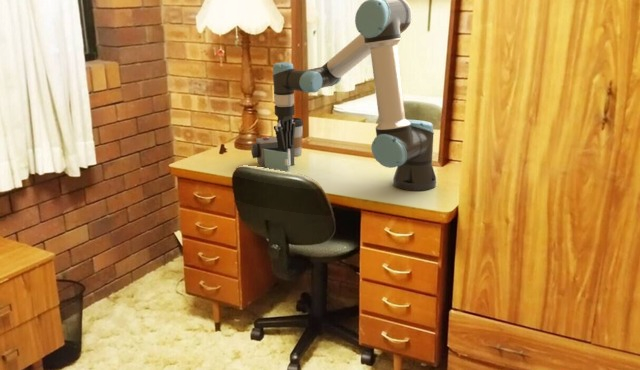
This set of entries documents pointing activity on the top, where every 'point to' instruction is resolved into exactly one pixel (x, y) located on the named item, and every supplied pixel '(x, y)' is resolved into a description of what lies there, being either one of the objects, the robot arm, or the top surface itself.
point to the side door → (275, 159)
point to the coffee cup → (298, 137)
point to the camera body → (268, 144)
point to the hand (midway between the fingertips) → (286, 165)
